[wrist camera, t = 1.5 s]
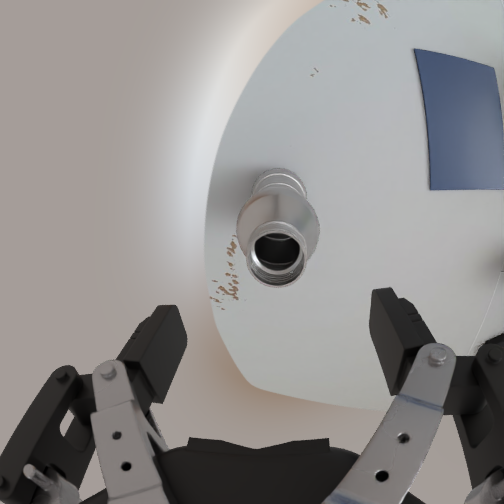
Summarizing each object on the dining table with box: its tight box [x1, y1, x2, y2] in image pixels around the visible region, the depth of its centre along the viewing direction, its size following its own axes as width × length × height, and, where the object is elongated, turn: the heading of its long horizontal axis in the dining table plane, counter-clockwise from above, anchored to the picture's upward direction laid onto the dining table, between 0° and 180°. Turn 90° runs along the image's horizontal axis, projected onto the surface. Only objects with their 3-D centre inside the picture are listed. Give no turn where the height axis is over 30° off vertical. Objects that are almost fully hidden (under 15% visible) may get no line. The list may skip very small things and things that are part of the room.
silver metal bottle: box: [236, 168, 320, 288], centre depth 25 cm, size 6×7×20 cm
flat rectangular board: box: [414, 49, 504, 190], centre depth 27 cm, size 20×16×1 cm
